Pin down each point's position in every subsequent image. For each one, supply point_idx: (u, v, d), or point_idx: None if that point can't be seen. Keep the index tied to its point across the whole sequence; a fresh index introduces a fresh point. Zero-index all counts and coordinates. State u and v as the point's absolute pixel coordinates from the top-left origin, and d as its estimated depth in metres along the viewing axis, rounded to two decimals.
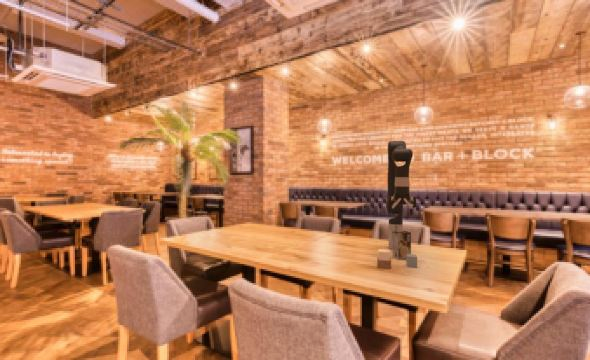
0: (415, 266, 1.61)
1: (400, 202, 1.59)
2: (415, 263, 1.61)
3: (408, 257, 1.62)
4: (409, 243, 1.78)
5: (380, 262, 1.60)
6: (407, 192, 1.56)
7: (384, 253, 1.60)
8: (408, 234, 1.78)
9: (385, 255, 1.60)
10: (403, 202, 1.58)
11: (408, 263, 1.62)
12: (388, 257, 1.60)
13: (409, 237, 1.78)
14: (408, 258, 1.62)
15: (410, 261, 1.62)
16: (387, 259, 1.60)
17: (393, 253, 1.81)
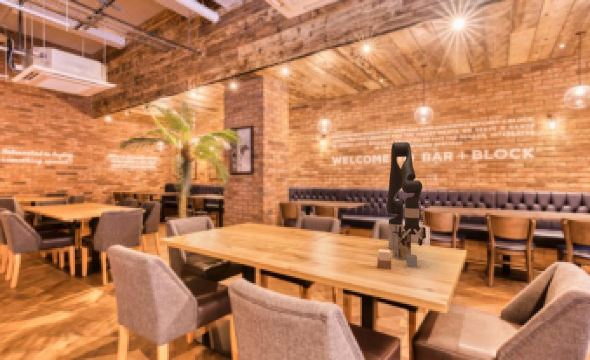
0: (415, 266, 1.61)
1: (410, 232, 1.63)
2: (415, 263, 1.61)
3: (408, 257, 1.62)
4: (409, 243, 1.78)
5: (380, 262, 1.60)
6: (417, 223, 1.60)
7: (384, 253, 1.60)
8: (408, 234, 1.78)
9: (385, 255, 1.60)
10: (413, 232, 1.62)
11: (408, 263, 1.62)
12: (388, 257, 1.60)
13: (409, 237, 1.78)
14: (408, 258, 1.62)
15: (410, 261, 1.62)
16: (387, 259, 1.60)
17: (393, 253, 1.81)
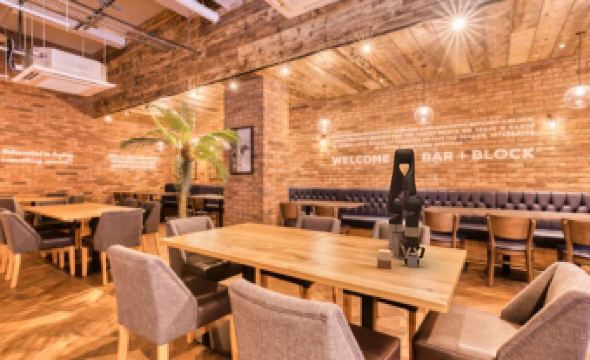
0: (415, 266, 1.61)
1: (410, 251, 1.63)
2: (415, 263, 1.61)
3: (408, 257, 1.62)
4: None
5: (380, 262, 1.60)
6: (417, 242, 1.61)
7: (385, 253, 1.60)
8: None
9: (386, 255, 1.60)
10: (413, 251, 1.63)
11: (408, 263, 1.62)
12: (389, 257, 1.60)
13: None
14: (408, 258, 1.62)
15: (410, 261, 1.62)
16: (388, 259, 1.60)
17: (393, 253, 1.81)
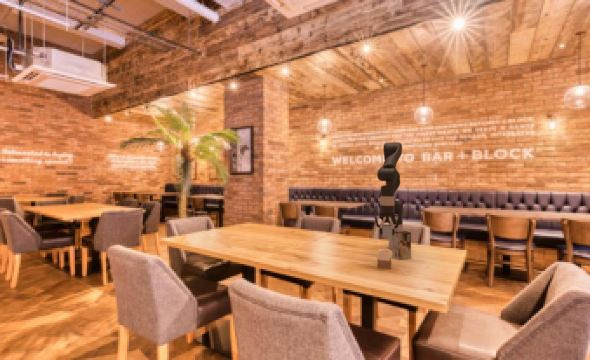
0: (390, 235, 1.60)
1: (385, 221, 1.62)
2: (390, 232, 1.60)
3: (383, 226, 1.60)
4: (409, 243, 1.78)
5: (380, 262, 1.60)
6: (392, 211, 1.59)
7: (384, 253, 1.60)
8: (408, 234, 1.78)
9: (385, 255, 1.60)
10: (388, 221, 1.61)
11: (383, 233, 1.60)
12: (388, 257, 1.60)
13: (409, 237, 1.78)
14: (383, 227, 1.60)
15: (385, 230, 1.60)
16: (387, 259, 1.60)
17: (393, 253, 1.81)
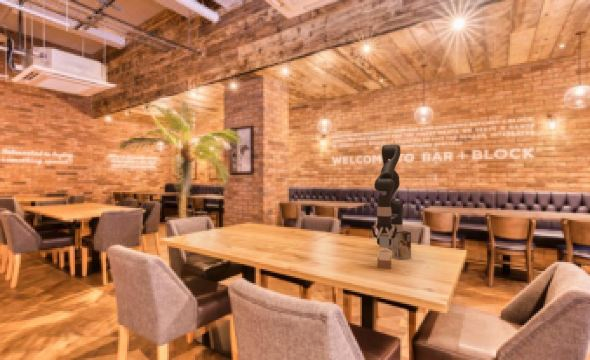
0: (387, 246, 1.60)
1: (382, 231, 1.62)
2: (387, 243, 1.60)
3: (380, 237, 1.61)
4: (409, 243, 1.78)
5: (380, 262, 1.60)
6: (389, 222, 1.59)
7: (384, 253, 1.60)
8: (408, 234, 1.78)
9: (385, 255, 1.60)
10: (385, 231, 1.62)
11: (380, 243, 1.61)
12: (388, 257, 1.60)
13: (409, 237, 1.78)
14: (380, 238, 1.61)
15: (382, 241, 1.61)
16: (387, 259, 1.60)
17: (393, 253, 1.81)
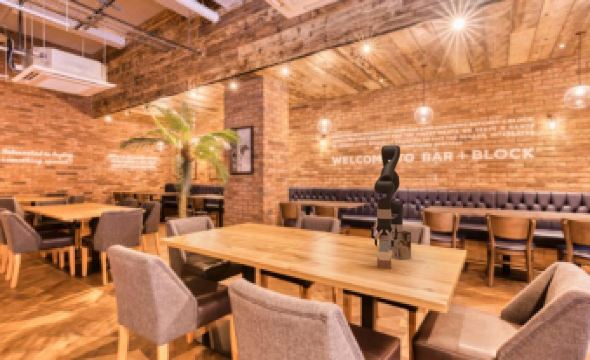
0: (387, 250, 1.60)
1: (382, 233, 1.62)
2: (387, 247, 1.60)
3: (380, 241, 1.61)
4: (409, 243, 1.78)
5: (380, 262, 1.60)
6: (389, 224, 1.59)
7: (384, 253, 1.60)
8: (408, 234, 1.78)
9: (385, 255, 1.60)
10: (385, 233, 1.62)
11: (380, 247, 1.61)
12: (388, 257, 1.60)
13: (409, 237, 1.78)
14: (380, 242, 1.61)
15: (382, 245, 1.61)
16: (387, 259, 1.60)
17: (393, 253, 1.81)
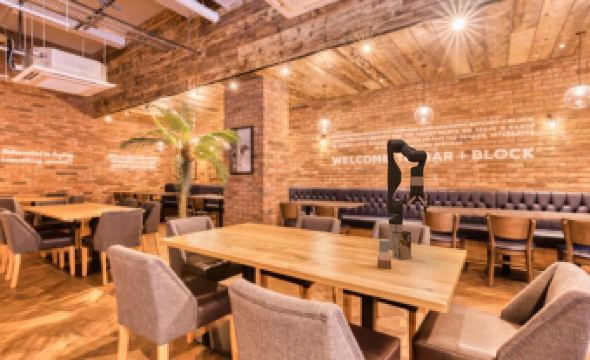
0: (387, 250, 1.60)
1: (415, 200, 1.71)
2: (387, 247, 1.60)
3: (380, 241, 1.61)
4: (409, 243, 1.78)
5: (380, 262, 1.60)
6: (422, 191, 1.68)
7: (384, 253, 1.60)
8: (408, 234, 1.78)
9: (385, 255, 1.60)
10: (418, 200, 1.70)
11: (380, 247, 1.61)
12: (388, 257, 1.60)
13: (409, 237, 1.78)
14: (380, 242, 1.61)
15: (382, 245, 1.61)
16: (387, 259, 1.60)
17: (393, 253, 1.81)
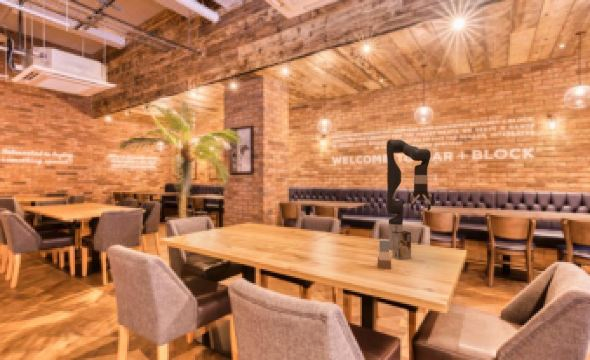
0: (387, 250, 1.60)
1: (419, 198, 1.72)
2: (387, 247, 1.60)
3: (380, 241, 1.61)
4: (409, 243, 1.78)
5: (380, 262, 1.60)
6: (426, 189, 1.69)
7: (385, 253, 1.60)
8: (408, 234, 1.78)
9: (386, 255, 1.60)
10: (422, 198, 1.71)
11: (380, 247, 1.61)
12: (389, 257, 1.60)
13: (409, 237, 1.78)
14: (380, 242, 1.61)
15: (382, 245, 1.61)
16: (388, 259, 1.60)
17: (393, 253, 1.81)
